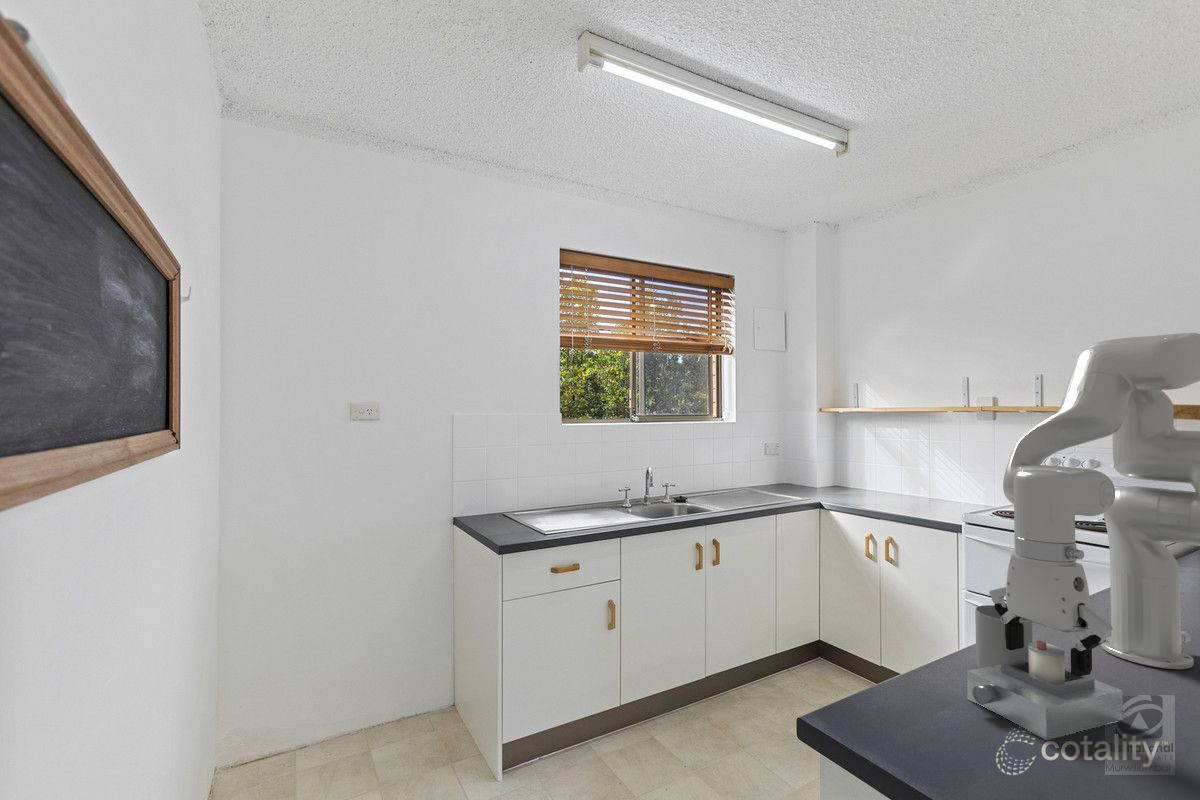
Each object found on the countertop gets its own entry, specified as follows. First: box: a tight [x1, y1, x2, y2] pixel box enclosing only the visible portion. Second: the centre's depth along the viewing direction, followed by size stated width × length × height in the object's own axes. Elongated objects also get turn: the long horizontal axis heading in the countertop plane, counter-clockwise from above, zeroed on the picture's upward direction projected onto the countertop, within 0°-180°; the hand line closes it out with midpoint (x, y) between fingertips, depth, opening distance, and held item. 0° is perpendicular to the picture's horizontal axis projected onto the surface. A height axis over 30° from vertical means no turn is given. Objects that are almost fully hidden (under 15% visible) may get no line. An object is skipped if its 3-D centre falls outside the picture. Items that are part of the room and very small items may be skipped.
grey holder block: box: [966, 659, 1124, 741], centre depth 88 cm, size 18×12×6 cm, turn 108°
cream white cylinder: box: [1028, 640, 1066, 684], centre depth 88 cm, size 4×4×9 cm
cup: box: [974, 604, 1033, 669], centre depth 102 cm, size 8×8×10 cm
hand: (1046, 661), depth 88 cm, fingers open, 9 cm apart
